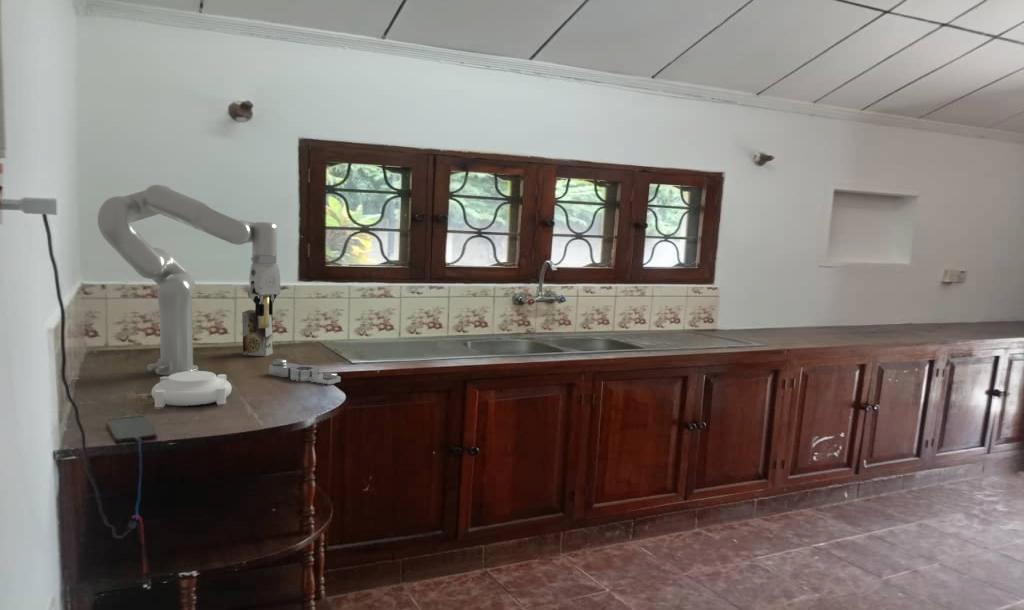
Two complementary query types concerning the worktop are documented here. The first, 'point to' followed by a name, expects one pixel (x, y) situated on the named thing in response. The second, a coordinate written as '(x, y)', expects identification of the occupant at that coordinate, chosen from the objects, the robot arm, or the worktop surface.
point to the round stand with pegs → (191, 389)
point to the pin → (265, 313)
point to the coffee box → (256, 335)
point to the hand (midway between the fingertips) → (264, 314)
